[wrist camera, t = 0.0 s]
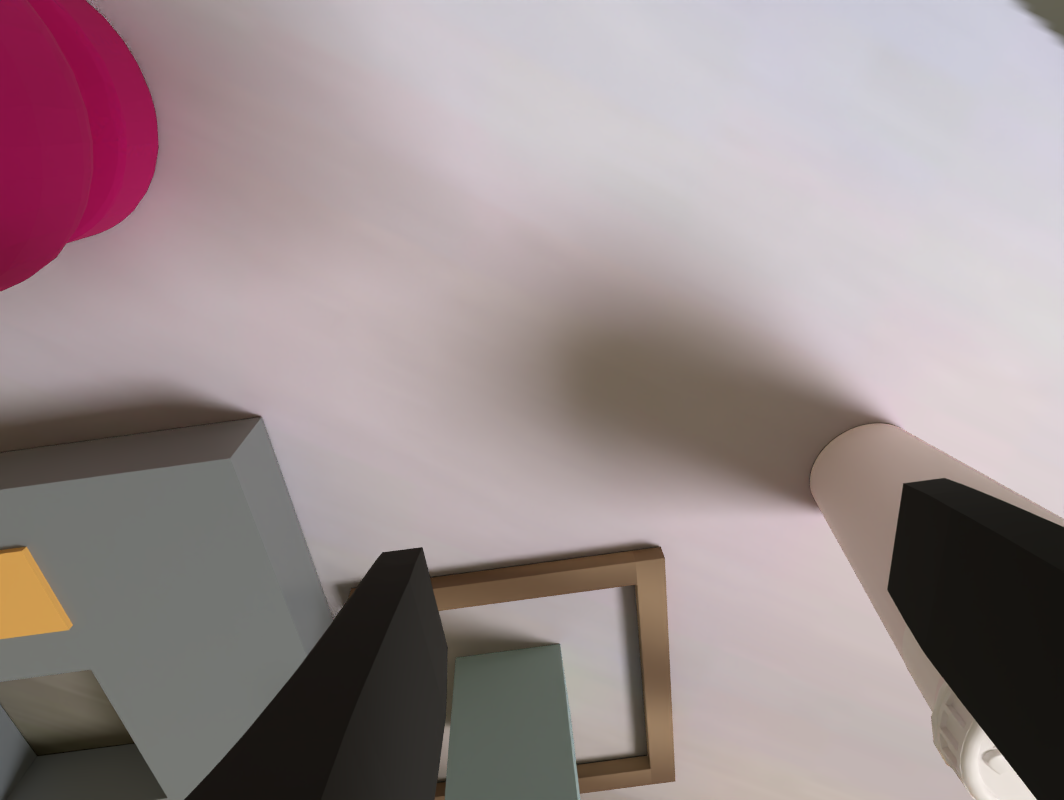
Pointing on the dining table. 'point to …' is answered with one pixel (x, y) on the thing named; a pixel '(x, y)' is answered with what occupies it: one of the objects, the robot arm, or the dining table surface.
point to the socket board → (152, 600)
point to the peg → (511, 728)
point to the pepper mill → (67, 131)
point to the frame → (653, 642)
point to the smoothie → (867, 541)
